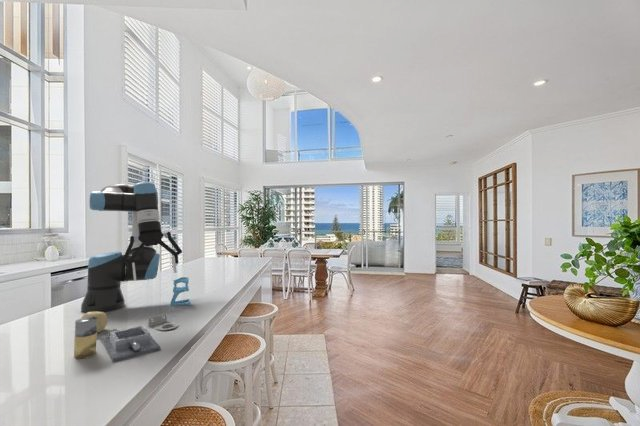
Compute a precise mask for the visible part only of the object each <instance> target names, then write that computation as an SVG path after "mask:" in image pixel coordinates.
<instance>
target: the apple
mask: <svg viewBox="0 0 640 426" xmlns="http://www.w3.org/2000/svg"><path fill="white" fill-rule="evenodd" d="M86 317H97V334H98V333H99V332H102V331H103V330H104V329H106V327H107V325H108V317H107V314H106V313H105V312H97V311H96V312H85V313H84V314H83V315H82V316H81V317H80V319H81V318H86Z"/></svg>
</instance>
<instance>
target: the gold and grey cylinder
mask: <svg viewBox="0 0 640 426" xmlns="http://www.w3.org/2000/svg"><path fill="white" fill-rule="evenodd" d="M74 323H75V324H74V325H75V326H74V344H73V345H74V346H73V348H74V349H73V359H76V360H83V359H88V358H91V357H93V356H95V355H96V353H97V338H98V337H97V335H98V333H97V317H86V318H81V317H80V318H79V319H76V320H75V322H74Z"/></svg>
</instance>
